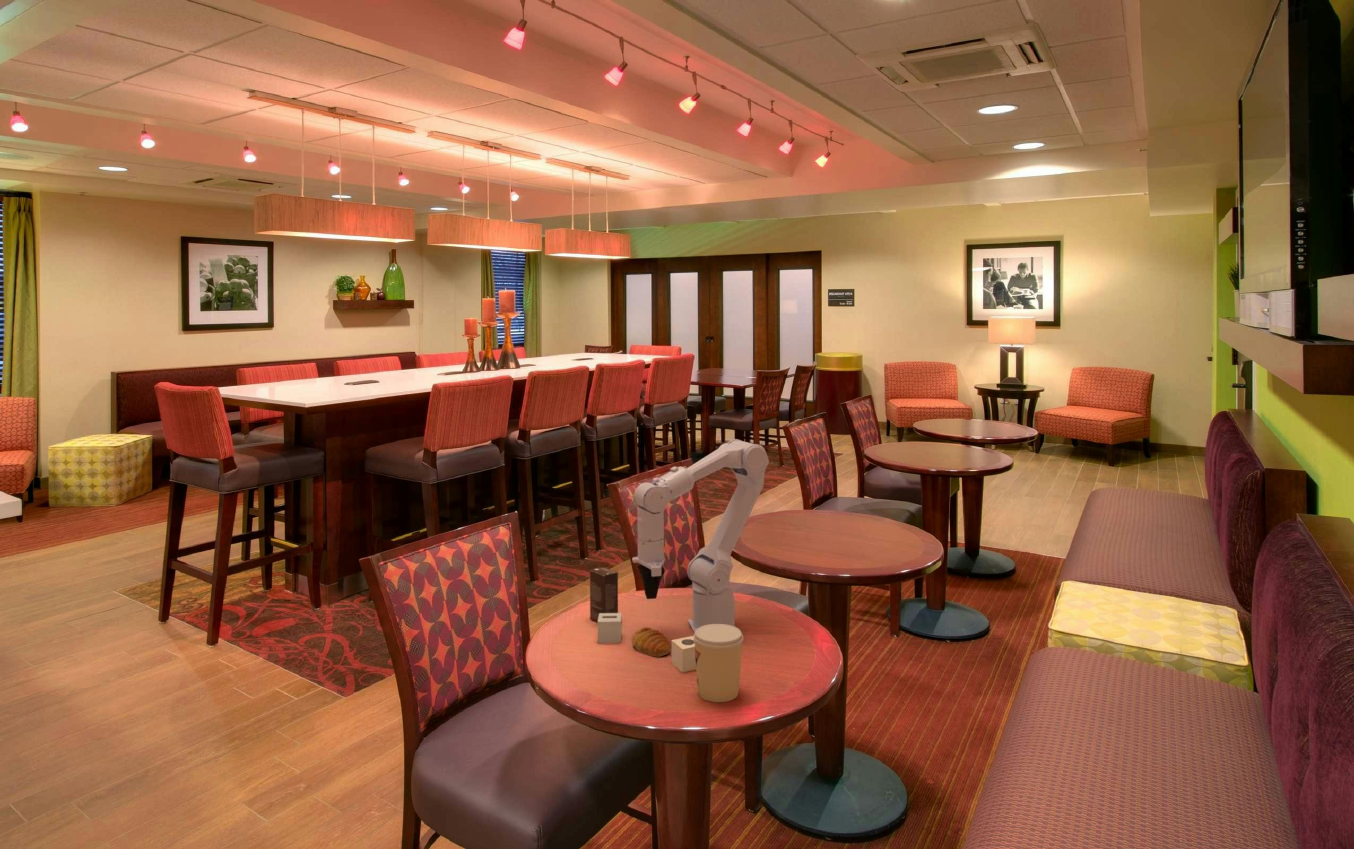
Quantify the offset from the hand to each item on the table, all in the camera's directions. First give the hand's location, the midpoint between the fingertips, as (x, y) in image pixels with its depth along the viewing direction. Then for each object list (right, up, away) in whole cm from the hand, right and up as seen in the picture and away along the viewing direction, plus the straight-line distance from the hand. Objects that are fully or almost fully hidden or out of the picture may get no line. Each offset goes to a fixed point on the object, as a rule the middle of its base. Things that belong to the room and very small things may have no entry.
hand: (651, 597), depth 176 cm
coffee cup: (+13, -13, -24) cm, 31 cm away
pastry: (0, -11, -4) cm, 11 cm away
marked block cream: (+8, -11, -12) cm, 18 cm away
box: (-11, -8, +12) cm, 18 cm away
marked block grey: (-9, -9, +1) cm, 13 cm away
